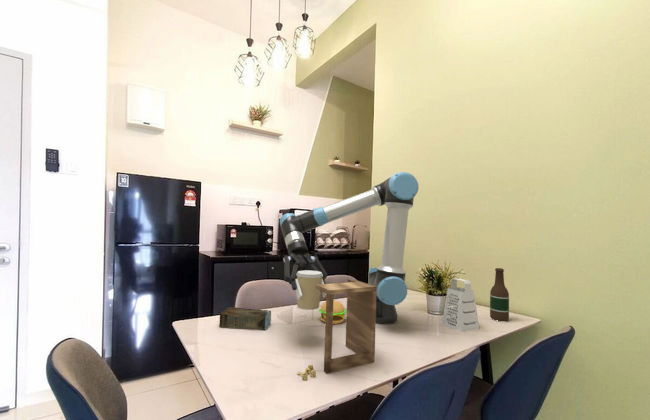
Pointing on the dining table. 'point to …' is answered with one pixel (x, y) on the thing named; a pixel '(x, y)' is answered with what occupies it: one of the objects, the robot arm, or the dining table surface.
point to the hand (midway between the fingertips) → (312, 296)
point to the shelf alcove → (351, 324)
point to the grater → (460, 307)
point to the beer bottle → (499, 298)
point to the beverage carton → (245, 318)
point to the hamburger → (334, 312)
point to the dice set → (308, 370)
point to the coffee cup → (309, 289)
